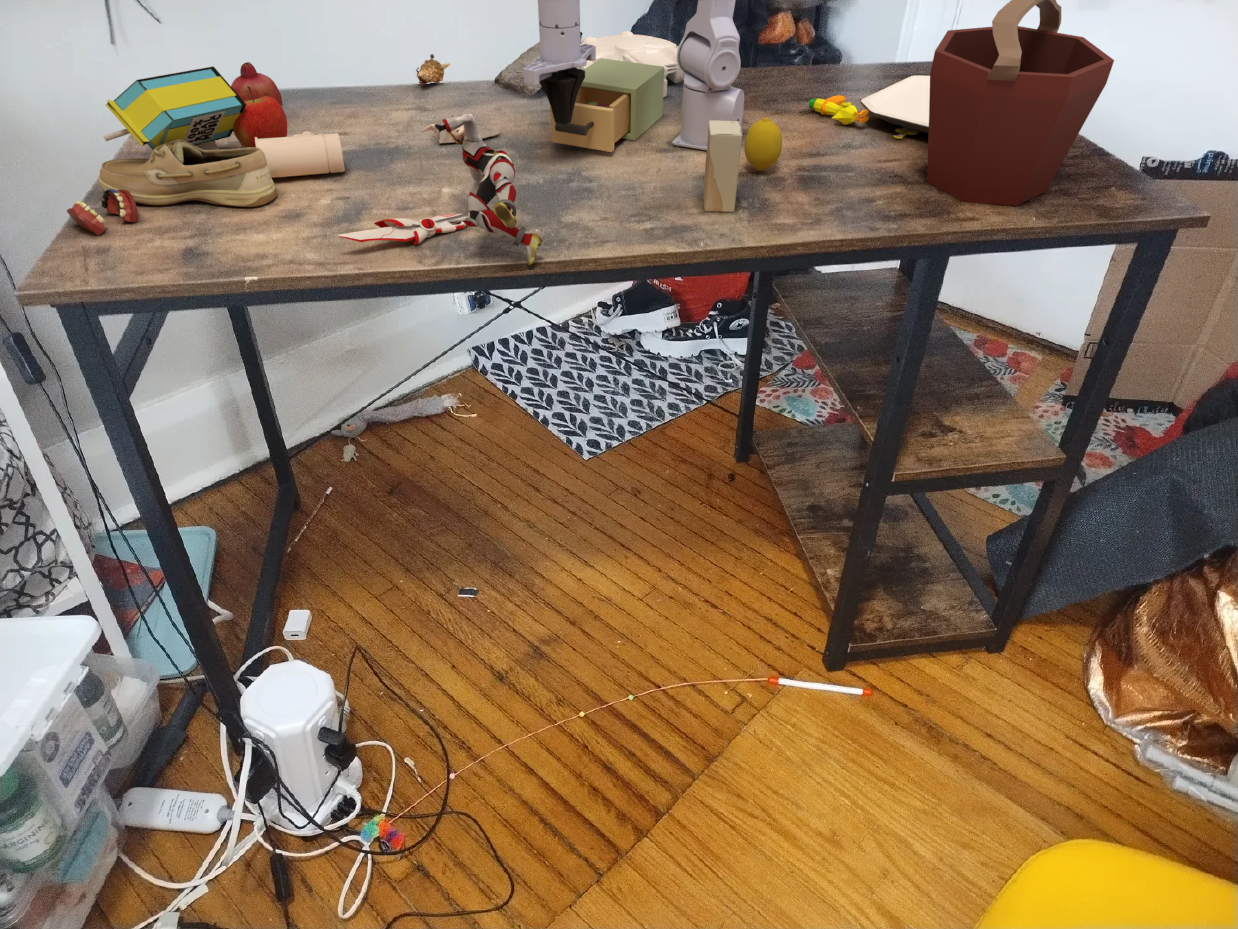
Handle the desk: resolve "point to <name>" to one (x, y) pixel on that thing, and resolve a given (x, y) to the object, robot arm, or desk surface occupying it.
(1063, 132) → the bucket
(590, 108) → the drawer
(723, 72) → the robot arm
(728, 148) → the box
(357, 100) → the desk surface
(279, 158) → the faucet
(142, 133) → the carton
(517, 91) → the stone
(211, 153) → the boat shoe
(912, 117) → the plate
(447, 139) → the arrowhead
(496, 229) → the anime character
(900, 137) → the decorative knife
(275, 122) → the apple
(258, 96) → the fruit
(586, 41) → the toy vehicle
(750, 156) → the lemon
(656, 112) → the cabinet
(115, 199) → the dental model
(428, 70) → the figurine
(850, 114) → the toy figure
